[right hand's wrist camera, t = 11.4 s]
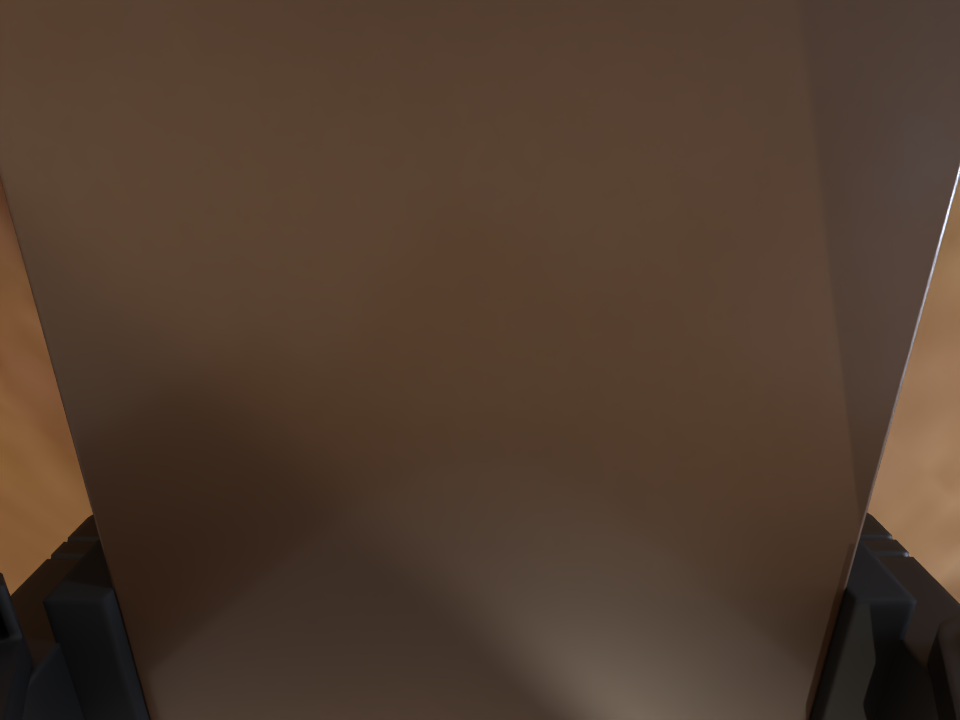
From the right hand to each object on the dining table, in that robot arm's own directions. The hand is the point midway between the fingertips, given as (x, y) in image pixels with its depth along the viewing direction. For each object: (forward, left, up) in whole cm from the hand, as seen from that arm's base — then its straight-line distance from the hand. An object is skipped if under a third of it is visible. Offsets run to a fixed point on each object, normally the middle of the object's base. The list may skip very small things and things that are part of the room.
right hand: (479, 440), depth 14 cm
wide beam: (-3, -28, -1) cm, 28 cm away
